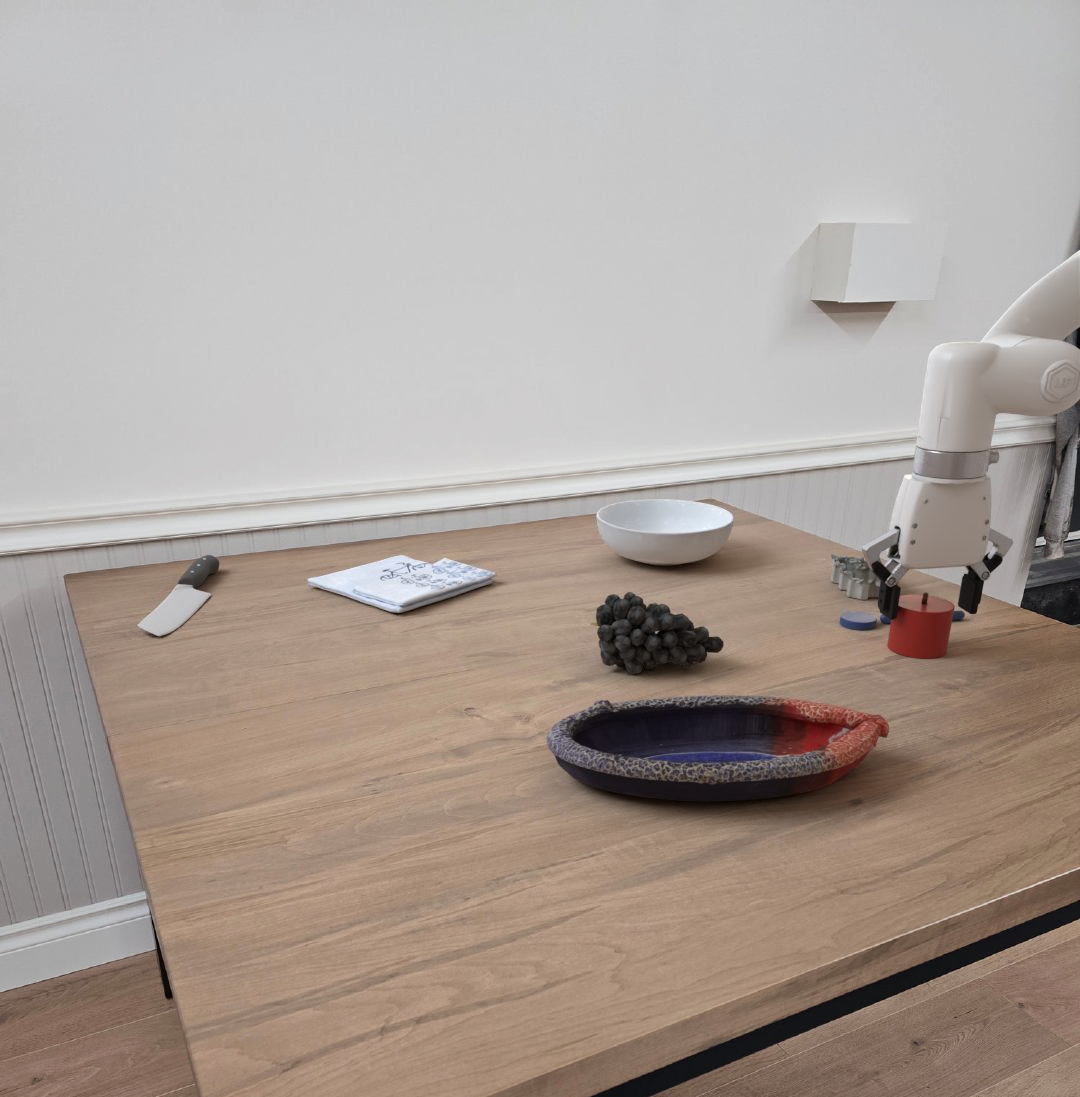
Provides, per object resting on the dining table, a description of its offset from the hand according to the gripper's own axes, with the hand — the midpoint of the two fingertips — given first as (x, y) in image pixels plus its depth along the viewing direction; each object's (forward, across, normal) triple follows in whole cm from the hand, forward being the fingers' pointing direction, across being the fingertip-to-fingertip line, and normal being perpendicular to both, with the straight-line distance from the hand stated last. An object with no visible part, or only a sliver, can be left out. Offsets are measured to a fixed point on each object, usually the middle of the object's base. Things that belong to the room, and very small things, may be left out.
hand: (927, 613), depth 113 cm
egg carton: (+5, -2, -23) cm, 24 cm away
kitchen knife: (+3, +91, -30) cm, 95 cm away
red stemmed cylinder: (+4, +1, 0) cm, 4 cm away
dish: (+4, +33, +27) cm, 42 cm away
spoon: (+4, -1, -9) cm, 10 cm away
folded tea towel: (+3, +62, -33) cm, 70 cm away
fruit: (+4, +33, +2) cm, 33 cm away
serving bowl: (+4, +22, -42) cm, 47 cm away
